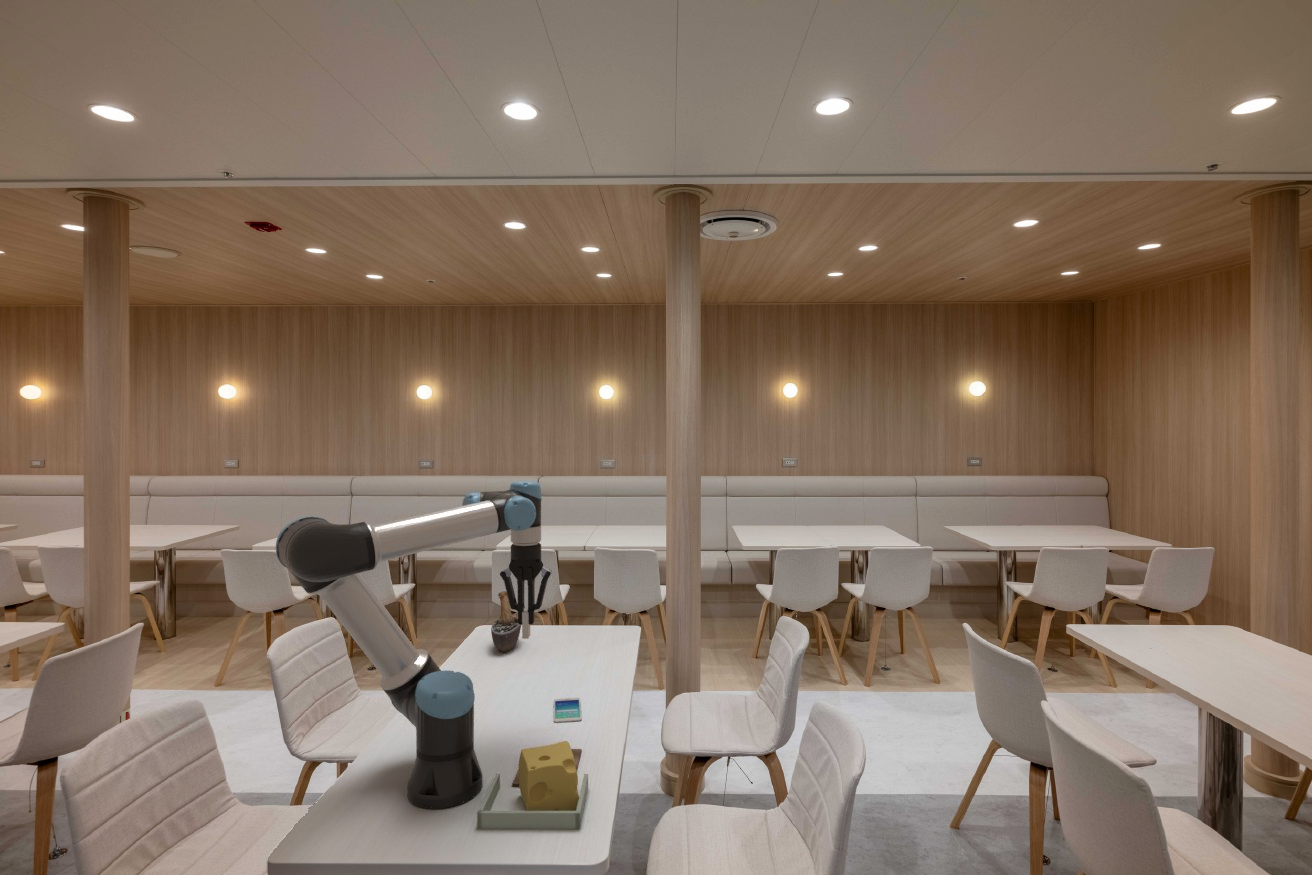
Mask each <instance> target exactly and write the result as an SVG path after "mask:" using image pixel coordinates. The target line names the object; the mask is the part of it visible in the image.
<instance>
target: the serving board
mask: <svg viewBox="0 0 1312 875" xmlns="http://www.w3.org/2000/svg"><path fill="white" fill-rule="evenodd" d="M571 751H572V753H573V756H574V761H575V767H576V771H577V772H578V768H579V765H580V764H579V763H580V760H581V755H582V752H583V750H582V748H571ZM511 787H513V788H514V787H515V788H516V787H519V788H520V786H519V771H518V770H517V771H516V773H515V777H514V778H513V781H512V783H511Z"/></svg>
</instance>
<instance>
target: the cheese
mask: <svg viewBox="0 0 1312 875" xmlns="http://www.w3.org/2000/svg"><path fill="white" fill-rule="evenodd" d="M571 749H572V747H571V745H570V742H569V741H567V740H565V741H559V742H556V743H555V742H554V743H552V744H547V745H542V746H535V747H527V748H522V749H520V753H519V759H518V770H517V771H519V786H520V787H519V789H520V790H519V791H520V794H521V799H522V802H523V804H524V807H525V811H576V809H577V805H578V800H579V796H580V793H579V792H578V785H579V777H578V770H577V771H576V767H575V761H574V756H573V753H572V751H571Z"/></svg>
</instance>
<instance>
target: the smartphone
mask: <svg viewBox="0 0 1312 875" xmlns="http://www.w3.org/2000/svg"><path fill="white" fill-rule="evenodd" d="M581 708H582V706H581V698H580V697H568V698H567V697H566V698H555V699H553V723H555V724H561V723H576V722H577V723H579V722H582V720H583V719H582V709H581Z"/></svg>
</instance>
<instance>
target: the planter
mask: <svg viewBox="0 0 1312 875" xmlns="http://www.w3.org/2000/svg"><path fill="white" fill-rule="evenodd" d="M497 596H498V598H499V600H500V616H499V618H498V619H497V620H495V621H493V623H492V625H491V631H490V632H491V639H492V642H493V645H494V647H495V648H496V649H497V650H498V651H499V652H501V653H506V652H508V651H510V650H512V649H513V648H514V646H515V645H516V644H517V642H518V641H519V638H520V634H521V629H522V624H519V623H518V615H517V616H516V615H513V614H512V611H511V610H512V609H511V608H510V604H509V599H508V595H507V591H506V590H504V591H500V592H499V593H497Z"/></svg>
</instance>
